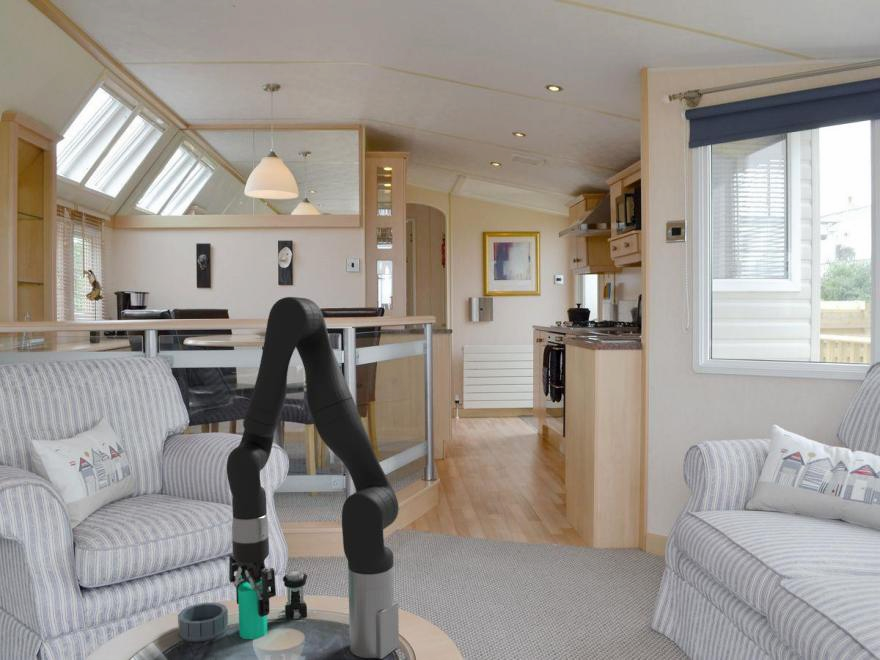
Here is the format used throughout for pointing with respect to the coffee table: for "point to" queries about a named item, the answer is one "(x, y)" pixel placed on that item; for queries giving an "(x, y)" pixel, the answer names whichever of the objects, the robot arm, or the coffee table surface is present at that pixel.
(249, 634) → the candle
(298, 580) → the push button
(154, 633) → the coffee table surface
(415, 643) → the coffee table surface
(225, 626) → the candle dish
